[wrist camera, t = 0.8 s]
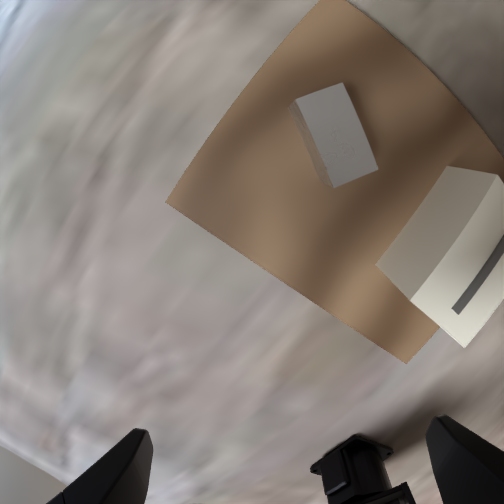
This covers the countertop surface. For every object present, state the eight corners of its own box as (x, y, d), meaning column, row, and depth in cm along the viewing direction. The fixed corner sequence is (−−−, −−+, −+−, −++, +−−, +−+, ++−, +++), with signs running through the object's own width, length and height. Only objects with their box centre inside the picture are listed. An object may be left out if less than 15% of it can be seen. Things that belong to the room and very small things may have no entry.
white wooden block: (327, 92, 16) (342, 82, 13) (358, 165, 17) (378, 169, 14) (288, 107, 16) (295, 99, 13) (320, 181, 17) (333, 187, 14)
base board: (516, 194, 18) (528, 197, 17) (399, 352, 22) (406, 363, 21) (324, -1, 15) (329, -11, 13) (171, 198, 19) (165, 202, 17)
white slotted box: (492, 222, 18) (541, 243, 13) (428, 309, 20) (466, 350, 15) (446, 165, 17) (500, 175, 12) (374, 264, 19) (411, 302, 14)
